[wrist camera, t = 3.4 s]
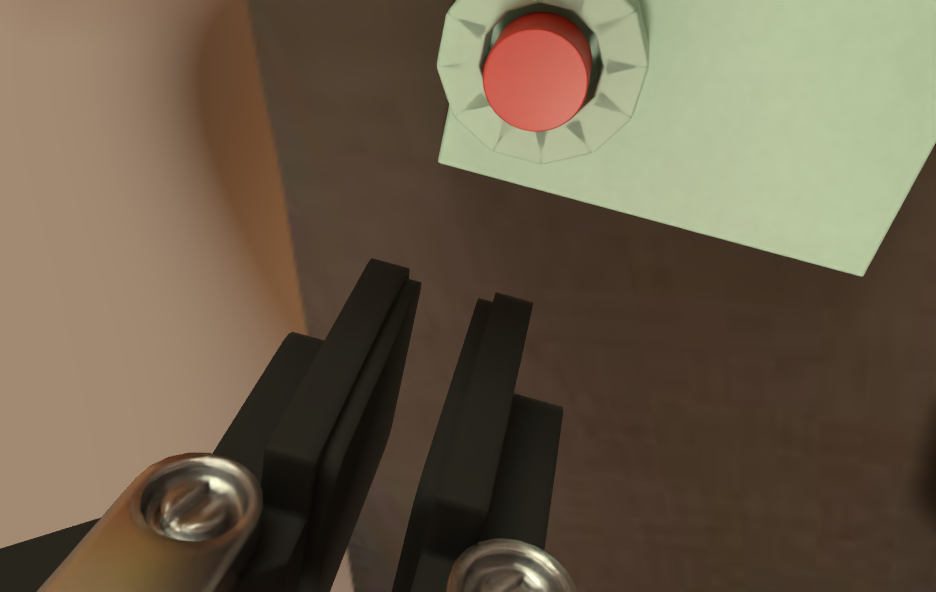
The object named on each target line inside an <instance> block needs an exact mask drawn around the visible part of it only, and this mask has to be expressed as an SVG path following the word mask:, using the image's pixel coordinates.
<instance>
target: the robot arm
mask: <svg viewBox="0 0 936 592" xmlns="http://www.w3.org/2000/svg"><path fill="white" fill-rule="evenodd" d="M420 289H421V282H418V281H414V280H411V279H409V268H406V267H402V266H398V265H395V264H391V263H387V262H384V261H380V260H376V259H373V258H372V259H370V261H369V262H368V264H367V266H366V268H365V269H364V271H363V273H362V275H361V277H360V278H359V280H358V282H357V284H356V286H355V287H354V289H353V291H352V293H351V294H350V296H349V298H348V300H347V302H346V303H345V305H344V307H343V309H342V311H341V312H340V314H339V316H338V318H337V320H336V321H335V323H334V325H333V327H332V328H331V330H330V332H329V334H328V336H327V337H326V339H325V341H324V340H320V339H317V338H313V337H309V336H306V335H302V334H299V333H295V332H291V333H289V334H288V336H287V337H286V338H285V339H284V341H283V342H282V344H281V345H280V347H279V349H278V350H277V352H276V353H275V355H274V356H273V358H272V360H271V361H270V363H269V365H268V366H267V368H266V369H265V371H264V373H263V374H262V376H261V377H260V379H259V380H258V382H257V383H256V385H255V387H254V389H253V390H252V392H251V393H250V395H249V396H248V398H247V399H246V401H245V403H244V404H243V406H242V407H241V409H240V411H239V412H238V414H237V415H236V417H235V419H234V420H233V422H232V424H231V425H230V426H229V428H228V430H227V431H226V433H225V434H224V436H223V438H222V439H221V441H220V442H219V444H218V446H217V447H216V449H215V450H214V452H213V454H211V453H185V454H181V455H176V456H171V457H168V458H165V459H163V460H161V461H159V462H157V463H155V464H153V465H151V466H149V467H148V468H147V469H146V470H145V471H143V472H142V473H141V474H140V475H139V476H138V477H136V478H135V480H134V481H133V482H132V483H131V484H130V485H129V486H128V487H127V489H126V490H125V491H124V492H123V493H122V494H121V496H120V497H119V498H118V499H117V500H116V501H115V502H114V504H113V505H112V506H111V507H110V508H109V509H108V510H107V512H106V513H105V514H104V515H103V516H102V517H101V518H99V519H95V520H92V521H89V522H85V523H83V524H79V525H76V526H72V527H69V528H66V529H63V530H60V531H56V532H53V533H50V534H46V535H44V536H40V537H37V538H34V539H30V540H28V541H24V542H21V543H18V544H14V545H11V546H8V547H4V548H1V549H0V592H330V590H331V587H332V585H333V582H334V580H335V577H336V574H337V572H338V569H339V567H340V564H341V561H342V559H343V556H344V554H345V551H346V548H347V546H348V543H349V541H350V538H351V535H352V533H353V530H354V528H355V525H356V522H357V520H358V517H359V515H360V512H361V509H362V507H363V504H364V502H365V499H366V496H367V494H368V491H369V489H370V486H371V484H372V481H373V478H374V476H375V473H376V471H377V468H378V465H379V463H380V460H381V458H382V455H383V452H384V450H385V447H386V444H387V441H388V438H389V434H390V431H391V427H392V423H393V418H394V413H395V409H396V404H397V399H398V394H399V390H400V385H401V380H402V375H403V371H404V366H405V361H406V356H407V351H408V347H409V342H410V337H411V332H412V328H413V323H414V318H415V313H416V309H417V304H418V299H419V294H420ZM532 306H533V302H529V301H526V300H522V299H518V298H515V297H511V296H508V295H504V294H500V293H497V292H496V294H495V297H494V301H493V302H491V301H487V300H483V299H480V298H478V301H477V304H476V307H475V310H474V313H473V316H472V319H471V322H470V326H469V329H468V332H467V335H466V338H465V341H464V344H463V347H462V350H461V354H460V357H459V360H458V363H457V366H456V369H455V372H454V375H453V379H452V382H451V385H450V388H449V391H448V394H447V397H446V400H445V404H444V407H443V410H442V413H441V416H440V419H439V422H438V425H437V428H436V432H435V435H434V438H433V441H432V444H431V447H430V450H429V453H428V457H427V460H426V463H425V466H424V469H423V472H422V475H421V479H420V482H419V486H418V489H417V493H416V496H415V500H414V504H413V507H412V511H411V515H410V519H409V524H408V528H407V532H406V536H405V540H404V544H403V548H402V552H401V556H400V560H399V564H398V569H397V573H396V577H395V581H394V585H393V589H392V592H577V588H576V586H575V584H574V583H573V581H572V579H571V577H570V575H569V574H568V572H567V571H566V569H565V568H564V567H563V566H562V565H561V564H560V563H559V562H558V561H557V560H556V559H555V558H554V557H553V556H551V555H549V554H548V553H546V552H545V551H544V548H545V541H546V534H547V526H548V519H549V512H550V504H551V497H552V490H553V482H554V475H555V468H556V460H557V453H558V446H559V439H560V431H561V424H562V416H563V408H562V407H560V406H557V405H553V404H550V403H546V402H542V401H539V400H535V399H532V398H528V397H525V396H521V395H517V394H514V389H515V385H516V380H517V375H518V371H519V366H520V362H521V357H522V352H523V348H524V343H525V339H526V334H527V330H528V325H529V320H530V316H531V311H532Z"/></svg>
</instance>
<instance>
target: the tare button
mask: <svg viewBox="0 0 936 592" xmlns="http://www.w3.org/2000/svg"><path fill="white" fill-rule="evenodd" d="M591 70H592V53H591V49H590V45H589V43H588V41H587V38H586V37H585V35H584V34H583V32H582V31H581V30H580V28H579V27H578V26H577V25H576V24H574V23H573V22H572V21H570V20H569V19H568V18H566V17H564V16H562V15H559V14H556V13H552V12H542V11H541V12H532V13H528V14H525V15H522V16H520V17H518V18H516V19H515V20H513V21H512V22H510V23H509V24H508V25H507V26H506V27H505V28H504V30H503V31H502V32H501V34H500V35H499V37H498V38H497V40H496V42H495V44H494V46H493V48H492V50H491V51H490V53H489V55H488V57H487V60H486V62H485V66H484V70H483V88H484V92H485V95H486V98H487V100H488V102H489V104H490V106H491V108H492V109H493V110H494V112H495V113H496V114H497V115H498V116H499V117H500V118H501V119H502V120H504V121H505V122H507V123H508V124H510V125H512V126H514V127H516V128H518V129H521V130H526V131H533V132H540V131H547V130H551V129H555V128H557V127H559V126H561V125H563V124H565V123H566V122H568V121H569V120H570V119H571V118H573V117H574V116H575V114H576V113H577V112H578V111H579V109H580V108H581V106H582V104H583V103H584V100H585V98H586V95H587V91H588V86H589V81H590V76H591Z"/></svg>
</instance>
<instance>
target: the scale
mask: <svg viewBox="0 0 936 592" xmlns="http://www.w3.org/2000/svg"><path fill="white" fill-rule="evenodd" d="M541 11H542V12H552V13H556V14H559V15H562V16H564V17H566V18H568V19H569V20H570V21H572V22H573V23H574V24H576V25H577V26H578V27H579V28H580V30H581V31H582V32H583V34H584V35H585V37H586V38H587V41H588V43H589V45H590V49H591V53H592V70H591V76H590V81H589V86H588V91H587V95H586V98H585V100H584V103H583V104H582V106H581V108H580V109H579V111H578V112H577V113H576V114H575V116H574V117H573V118H571V119H570V120H569V121H568V122H566V123H565V124H563V125H561V126H559V127H557V128H555V129H551V130H547V131H540V132H533V131H526V130H521V129H518V128H516V127H514V126H512V125H510V124H508V123H507V122H505V121H504V120H502V119H501V118H500V117H499V116H498V115H497V114H496V113H495V112H494V110H493V109H492V108H491V106H490V104H489V102H488V100H487V98H486V95H485V92H484V88H483V70H484V66H485V62H486V60H487V57H488V55H489V53H490V51H491V50H492V48H493V46H494V44H495V42H496V40H497V38H498V37H499V35H500V34H501V32H502V31H503V30H504V28H505V27H506V26H507V25H508V24H509V23H510V22H512V21H513V20H515V19H516V18H518V17H520V16H522V15H525V14H528V13H532V12H541ZM437 70H438V73H439V76H440V78H441V81H442V84H443V87H444V90H445V93H446V96H447V99H448V102H449V109H448V113H447V118H446V123H445V128H444V133H443V138H442V143H441V148H440V153H439V158H438V162H439V163H441V164H445V165H449V166H452V167H456V168H460V169H463V170H467V171H471V172H475V173H478V174H482V175H486V176H489V177H493V178H497V179H501V180H504V181H508V182H512V183H515V184H519V185H523V186H527V187H530V188H534V189H538V190H541V191H545V192H549V193H553V194H556V195H560V196H564V197H567V198H571V199H575V200H579V201H582V202H586V203H590V204H593V205H597V206H601V207H605V208H608V209H612V210H616V211H619V212H623V213H627V214H631V215H634V216H638V217H642V218H645V219H649V220H653V221H657V222H660V223H664V224H668V225H671V226H675V227H679V228H683V229H686V230H690V231H694V232H697V233H701V234H705V235H709V236H712V237H716V238H720V239H723V240H727V241H731V242H735V243H738V244H742V245H746V246H749V247H753V248H757V249H761V250H764V251H768V252H772V253H775V254H779V255H783V256H787V257H790V258H794V259H798V260H801V261H805V262H809V263H813V264H816V265H820V266H824V267H827V268H831V269H835V270H839V271H842V272H846V273H850V274H853V275H857V276H863V275H864V274H865V272H866V270H867V268H868V266H869V265H870V263H871V261H872V259H873V257H874V255H875V253H876V252H877V250H878V248H879V246H880V244H881V242H882V241H883V239H884V237H885V235H886V233H887V231H888V230H889V228H890V226H891V224H892V222H893V220H894V218H895V217H896V215H897V213H898V211H899V209H900V207H901V206H902V204H903V202H904V200H905V198H906V196H907V195H908V193H909V191H910V189H911V187H912V185H913V183H914V182H915V180H916V178H917V176H918V174H919V172H920V171H921V169H922V167H923V165H924V163H925V161H926V160H927V158H928V156H929V154H930V152H931V150H932V148H933V147H934V145H935V143H936V0H456V1H455V3H454V4H453V5H452V7H451V8H450V9H449V11H448V13H447V14H446V18H445V23H444V28H443V33H442V39H441V44H440V49H439V55H438V60H437Z"/></svg>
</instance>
